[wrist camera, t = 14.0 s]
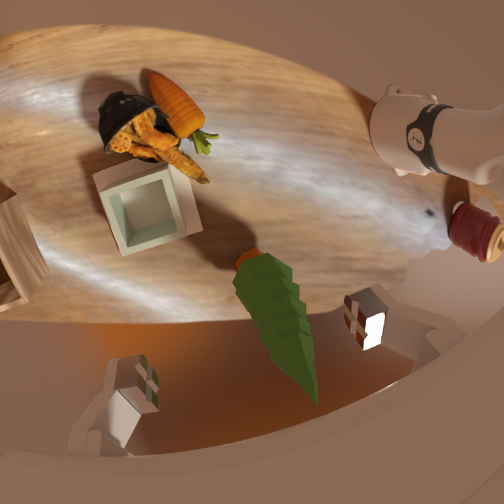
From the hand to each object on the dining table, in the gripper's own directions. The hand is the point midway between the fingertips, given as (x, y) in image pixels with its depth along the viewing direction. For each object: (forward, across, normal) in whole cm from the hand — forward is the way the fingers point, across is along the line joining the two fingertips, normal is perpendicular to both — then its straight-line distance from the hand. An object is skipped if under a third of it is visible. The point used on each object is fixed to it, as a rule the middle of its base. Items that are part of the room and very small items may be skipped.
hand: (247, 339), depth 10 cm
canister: (+37, -65, +27) cm, 79 cm away
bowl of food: (+31, +9, -14) cm, 35 cm away
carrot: (+33, +4, -17) cm, 37 cm away
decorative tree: (+35, -5, +18) cm, 40 cm away
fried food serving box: (+33, +40, 0) cm, 52 cm away
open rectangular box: (+34, +9, +2) cm, 36 cm away
